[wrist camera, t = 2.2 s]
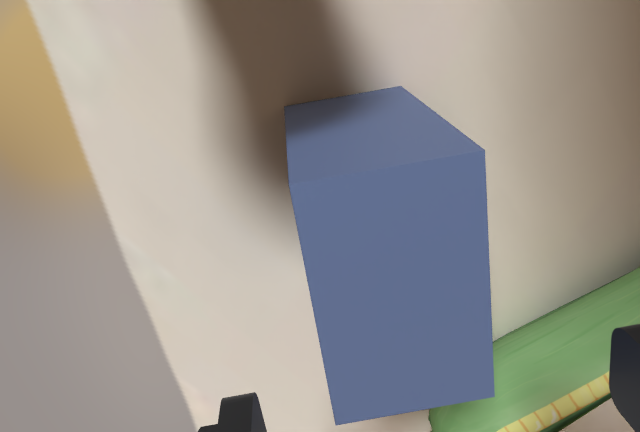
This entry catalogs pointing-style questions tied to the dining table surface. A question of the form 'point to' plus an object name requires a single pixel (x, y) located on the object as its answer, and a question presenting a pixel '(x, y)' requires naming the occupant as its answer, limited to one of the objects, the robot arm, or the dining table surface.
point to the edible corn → (550, 366)
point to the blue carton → (393, 252)
